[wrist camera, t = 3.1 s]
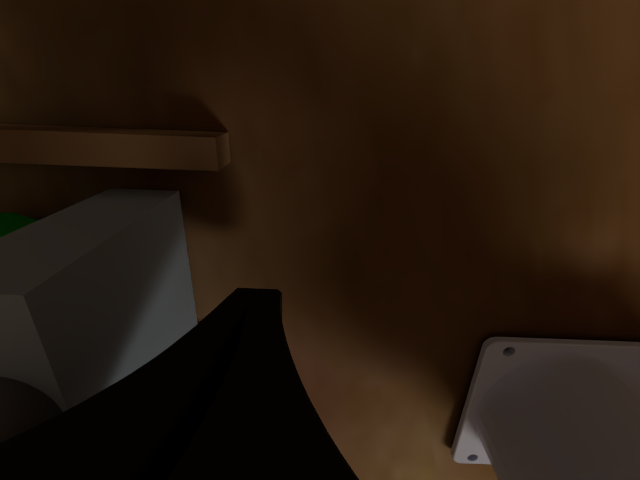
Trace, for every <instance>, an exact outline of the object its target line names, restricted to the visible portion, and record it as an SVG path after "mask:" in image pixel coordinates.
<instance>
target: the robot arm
mask: <svg viewBox="0 0 640 480" xmlns="http://www.w3.org/2000/svg"><path fill="white" fill-rule="evenodd" d="M508 347H509V348H508ZM506 348H508V349H506ZM504 349H506V350H504ZM451 455H452V457H453V459H454V461H456V462H458V463H474V464H491V465H492V467H493V469H494V472H495V474H496V476H497V478H498V480H640V342H626V341H599V340H572V339H545V338H518V337H491V338H489V339H487V340H486V341H485V342H484V343H483V345H482V348H481V351H480V354H479V358H478V361H477V364H476V368H475V371H474V374H473V378H472V381H471V385H470V388H469V391H468V395H467V398H466V401H465V405H464V408H463V411H462V415H461V418H460V421H459V425H458V428H457V431H456V435H455V438H454V441H453V445H452V448H451ZM0 480H359V479H358V478H357V476H356V475H355V473H354V472H353V470H352V469H351V467H350V466H349V465H348V463H347V462H346V460H345V459H344V457H343V456H342V454H341V453H340V451H339V449H338V448H337V446H336V445H335V443H334V441H333V440H332V438H331V437H330V435H329V433H328V432H327V430H326V428H325V426H324V425H323V423H322V421H321V419H320V417H319V415H318V414H317V412H316V410H315V408H314V406H313V405H312V403H311V401H310V399H309V397H308V395H307V393H306V390H305V388H304V386H303V384H302V382H301V379H300V377H299V375H298V372H297V370H296V367H295V365H294V362H293V359H292V356H291V353H290V350H289V347H288V344H287V341H286V337H285V333H284V328H283V324H282V293H281V292H280V291H279V290H278V289H253V288H237V289H236V290H235V291H234V292H233V293H231V294H230V295H229V296H228V297H227V298H226V299H225V300H224V301H223V302H222V303H220V304H219V305H218V306H217V307H216V308H215V309H214V310H213V311H212V312H211V313H209V314H208V315H207V316H206V317H205V318H204V319H203V320H201V321H200V322H199V323H198V324H197V325H196V326H195V327H193V328H192V329H191V330H190V331H189V332H187V333H186V334H185V335H184V336H182V337H181V338H180V339H178V340H177V341H176V342H175V343H173V344H172V345H171V346H170V347H168V348H167V349H166V350H164V351H163V352H162V353H160V354H159V355H157V356H156V357H155V358H153V359H152V360H150V361H149V362H147V363H146V364H144V365H143V366H141V367H140V368H138V369H137V370H135V371H134V372H132V373H131V374H129V375H127V376H126V377H124V378H123V379H121V380H119V381H118V382H116V383H114V384H112V385H111V386H109V387H107V388H105V389H104V390H102V391H100V392H99V393H97V394H95V395H93V396H92V397H90V398H88V399H87V400H85V401H83V402H81V403H79V404H78V405H76V406H74V407H72V408H70V409H68V410H66V411H64V412H62V413H61V414H59V415H57V416H55V417H53V418H51V419H49V420H47V421H45V422H43V423H41V424H39V425H37V426H35V427H33V428H31V429H29V430H27V431H24V432H22V433H20V434H18V435H16V436H14V437H12V438H10V439H8V440H5V441H3V442H1V443H0Z"/></svg>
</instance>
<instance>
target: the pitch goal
mask: <svg viewBox="0 0 640 480" xmlns="http://www.w3.org/2000/svg"><path fill="white" fill-rule="evenodd" d="M230 162H231V159H230V145H229V132H211V131H185V130H159V129H133V128H107V127H81V126H55V125H29V124H3V123H0V163H17V164H44V165H70V166H96V167H122V168H148V169H174V170H201V171H219V170H220V169H222V168H223V167H225V166H226V165H227V164H229V163H230Z"/></svg>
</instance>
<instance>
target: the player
mask: <svg viewBox="0 0 640 480" xmlns="http://www.w3.org/2000/svg"><path fill="white" fill-rule="evenodd" d="M197 324H198V323H197V316H196V309H195V302H194V295H193V288H192V281H191V273H190V266H189V259H188V252H187V245H186V238H185V231H184V224H183V217H182V210H181V203H180V196H179V191H172V190H145V189H119V188H110V189H108V190H105V191H103V192H101V193H99V194H96V195H94V196H92V197H90V198H88V199H85V200H83V201H81V202H79V203H76V204H74V205H72V206H70V207H67V208H65V209H63V210H61V211H58V212H56V213H54V214H52V215H49V216H47V217H45V218H43V219H40V220H38V221H36V222H34V223H31V224H29V225H27V226H25V227H23V228H20V229H18V230H16V231H14V232H11V233H9V234H7V235H5V236H2V237H0V443H1V442H3V441H5V440H8V439H10V438H12V437H14V436H16V435H18V434H20V433H22V432H24V431H27V430H29V429H31V428H33V427H35V426H37V425H39V424H41V423H43V422H45V421H47V420H49V419H51V418H53V417H55V416H57V415H59V414H61V413H62V412H64V411H66V410H68V409H70V408H72V407H74V406H76V405H78V404H79V403H81V402H83V401H85V400H87V399H88V398H90V397H92V396H93V395H95V394H97V393H99V392H100V391H102V390H104V389H105V388H107V387H109V386H111V385H112V384H114V383H116V382H118V381H119V380H121V379H123V378H124V377H126V376H127V375H129V374H131V373H132V372H134V371H135V370H137V369H138V368H140V367H141V366H143V365H144V364H146V363H147V362H149V361H150V360H152V359H153V358H155V357H156V356H157V355H159V354H160V353H162V352H163V351H164V350H166V349H167V348H168V347H170V346H171V345H172V344H173V343H175V342H176V341H177V340H178V339H180V338H181V337H182V336H184V335H185V334H186V333H187V332H189V331H190V330H191V329H192V328H193V327H195V326H196V325H197Z"/></svg>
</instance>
